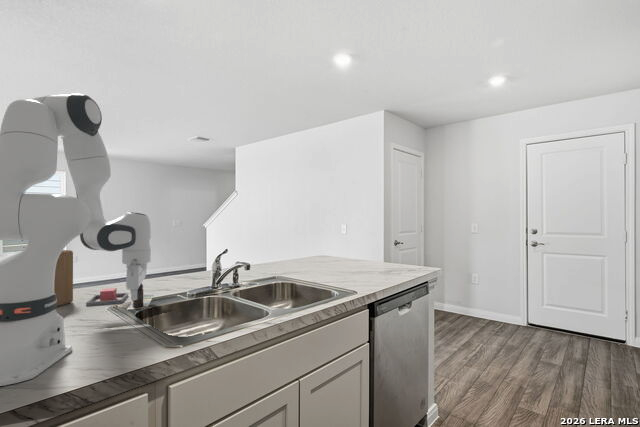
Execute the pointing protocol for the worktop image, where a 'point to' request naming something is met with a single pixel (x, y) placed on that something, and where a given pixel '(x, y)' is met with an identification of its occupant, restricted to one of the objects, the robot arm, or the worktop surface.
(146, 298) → the board
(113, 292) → the red cube
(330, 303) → the worktop surface
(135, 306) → the pawn
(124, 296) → the dice tray
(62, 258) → the wooden block
